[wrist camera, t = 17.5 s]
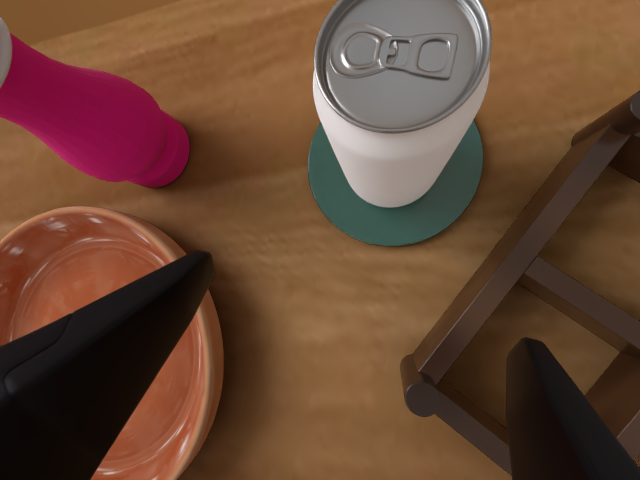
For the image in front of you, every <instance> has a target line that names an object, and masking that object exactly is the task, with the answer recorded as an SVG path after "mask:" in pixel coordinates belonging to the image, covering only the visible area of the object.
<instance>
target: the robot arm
mask: <svg viewBox="0 0 640 480" xmlns="http://www.w3.org/2000/svg"><path fill="white" fill-rule="evenodd" d="M214 275H215V268H214V264H213V260H212V256H211V254H210V253H209V252H206V251H203V250H195V251H193V252H191V253H189V254H187V255H185V256H183V257H181V258H179V259H177V260H175V261H173V262H171V263H169V264H167V265H165V266H163V267H161V268H159V269H157V270H155V271H153V272H151V273H149V274H147V275H145V276H143V277H141V278H139V279H137V280H135V281H133V282H131V283H129V284H127V285H125V286H123V287H121V288H119V289H117V290H115V291H113V292H111V293H109V294H107V295H105V296H103V297H101V298H99V299H98V300H96V301H94V302H92V303H90V304H88V305H86V306H84V307H82V308H80V309H78V310H76V311H74V312H73V313H70V314H68V315H66V316H64V317H62V318H60V319H58V320H56V321H54V322H52V323H50V324H47V325H45V326H43V327H41V328H39V329H37V330H35V331H33V332H31V333H29V334H26V335H24V336H22V337H20V338H18V339H15V340H13V341H11V342H9V343H6V344H4V345H2V346H0V480H91V478H92V477H93V475H94V473H95V472H96V470H97V469H98V467H99V466H100V464H101V462H102V461H103V459H104V457H105V456H106V454H107V453H108V451H109V450H110V448H111V446H112V445H113V443H114V442H115V440H116V439H117V437H118V435H119V434H120V432H121V431H122V429H123V428H124V426H125V425H126V423H127V421H128V420H129V418H130V417H131V415H132V414H133V412H134V410H135V409H136V407H137V406H138V404H139V403H140V401H141V400H142V398H143V396H144V395H145V393H146V392H147V390H148V389H149V387H150V385H151V384H152V382H153V381H154V379H155V378H156V376H157V374H158V373H159V371H160V370H161V368H162V367H163V365H164V364H165V362H166V360H167V359H168V357H169V356H170V354H171V353H172V351H173V349H174V348H175V346H176V345H177V343H178V342H179V340H180V339H181V337H182V335H183V334H184V332H185V331H186V329H187V328H188V326H189V324H190V323H191V321H192V319H193V318H194V316H195V314H196V312H197V310H198V308H199V306H200V304H201V302H202V300H203V298H204V296H205V294H206V292H207V290H208V288H209V286H210V284H211V282H212V280H213V278H214ZM506 423H507V434H508V443H509V453H510V462H511V472H512V480H640V468H639V467H638V465H637V464H636V463H635V461H634V460H633V459H632V458H631V456H630V455H629V454H628V452H627V451H626V450H625V448H624V447H623V446H622V444H621V443H620V442H619V441H618V439H617V438H616V437H615V435H614V434H613V433H612V431H611V430H610V429H609V428H608V426H607V425H606V424H605V422H604V421H603V420H602V418H601V417H600V416H599V414H598V413H597V412H596V411H595V409H594V408H593V407H592V405H591V404H590V403H589V401H588V400H587V399H586V398H585V396H584V395H583V394H582V392H581V391H580V390H579V388H578V387H577V386H576V384H575V383H574V382H573V381H572V379H571V378H570V377H569V375H568V374H567V373H566V371H565V370H564V369H563V368H562V366H561V365H560V364H559V362H558V361H557V360H556V358H555V357H554V356H553V355H552V353H551V352H550V351H549V349H548V348H547V347H546V345H545V344H544V343H542V342H541V341H538V340H535V339H531V338H527V337H525V338H522V339H521V340H520V341H519V342H518V343H517V344H516V345H515V346H514V348H513V349H512V350H511V351H510V352H509V354H508V356H507V371H506Z"/></svg>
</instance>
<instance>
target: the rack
mask: <svg viewBox="0 0 640 480" xmlns="http://www.w3.org/2000/svg"><path fill="white" fill-rule="evenodd" d="M571 145H572V147H571V149H570V150H569V151H568V152H567V154H566V155H565V156H564V158H563V159H562V160H561V162H560V163H559V164H558V165H557V167H556V168H555V169H554V171H553V172H552V173H551V175H550V176H549V177H548V178H547V180H546V181H545V182H544V184H543V185H542V186H541V188H540V189H539V190H538V192H537V193H536V194H535V195H534V197H533V198H532V199H531V201H530V202H529V203H528V205H527V206H526V207H525V208H524V210H523V211H522V212H521V214H520V215H519V216H518V218H517V219H516V220H515V221H514V223H513V224H512V225H511V227H510V228H509V229H508V231H507V232H506V233H505V234H504V236H503V237H502V238H501V240H500V241H499V242H498V244H497V245H496V246H495V248H494V249H493V250H492V251H491V253H490V254H489V255H488V257H487V258H486V259H485V261H484V262H483V263H482V264H481V266H480V267H479V268H478V270H477V271H476V272H475V274H474V275H473V276H472V277H471V279H470V280H469V281H468V283H467V284H466V285H465V287H464V288H463V289H462V291H461V292H460V293H459V294H458V296H457V297H456V298H455V300H454V301H453V302H452V304H451V305H450V306H449V307H448V309H447V310H446V311H445V313H444V314H443V315H442V317H441V318H440V319H439V320H438V322H437V323H436V324H435V326H434V327H433V328H432V330H431V331H430V332H429V333H428V335H427V336H426V337H425V339H424V340H423V341H422V343H421V344H420V345H419V347H418V348H417V349H416V350H415V352H414V353H413V354H412V355H408V356H406V357H405V358H404V359H403V360H402V361H401V364H400V370H401V377H402V384H403V391H404V397H405V403H406V405H407V407H408V408H409V410H410V411H411V412H412V413H414V414H416V415H418V416H421V417H428V416H431V415H433V414H436V415H437V416H438V417H439V418H441V419H442V420H443V421H444V422H446V423H447V424H448V425H449V426H451V427H452V428H453V429H454V430H456V431H457V432H458V433H459V434H460V435H462V436H463V437H464V438H465V439H467V440H468V441H469V442H470V443H472V444H473V445H474V446H475V447H476V448H478V449H479V450H480V451H481V452H483V453H484V454H485V455H486V456H488V457H489V458H490V459H491V460H493V461H494V462H495V463H496V464H497V465H499V466H500V467H501V468H502V469H504V470H505V471H506V472H507V473H509V474H510V475H511V476H512V472H511V462H510V453H509V443H508V434H507V429H506V428H504V427H503V426H502V425H500V424H499V423H498V422H497V421H495V420H494V419H493V418H491V417H490V416H489V415H488V414H486V413H485V412H484V411H482V410H481V409H480V408H479V407H477V406H476V405H475V404H474V403H472V402H471V401H470V400H468V399H467V398H466V397H465V396H463V395H462V394H461V393H459V392H458V391H457V390H456V389H454V388H453V387H452V386H450V385H449V384H448V383H447V382H445V381H444V380H443V379H441V378H442V377H443V375H444V374H445V373H446V372H447V370H448V369H449V368H450V367H451V365H452V364H453V363H454V361H455V360H456V359H457V358H458V356H459V355H460V354H461V352H462V351H463V350H464V349H465V347H466V346H467V345H468V343H469V342H470V341H471V340H472V338H473V337H474V336H475V334H476V333H477V332H478V331H479V329H480V328H481V327H482V325H483V324H484V323H485V322H486V320H487V319H488V318H489V317H490V315H491V314H492V313H493V311H494V310H495V309H496V308H497V306H498V305H499V304H500V302H501V301H502V300H503V299H504V297H505V296H506V295H507V293H508V292H509V291H510V290H511V288H512V287H513V286H514V284H515V283H516V282H517V283H519V284H520V285H522V286H523V287H525V288H526V289H528V290H529V291H531V292H532V293H534V294H535V295H537V296H538V297H540V298H541V299H543V300H544V301H546V302H547V303H549V304H550V305H552V306H553V307H555V308H556V309H558V310H559V311H561V312H562V313H564V314H565V315H567V316H568V317H570V318H571V319H573V320H574V321H576V322H577V323H579V324H580V325H582V326H583V327H585V328H586V329H588V330H589V331H591V332H592V333H594V334H595V335H597V336H598V337H600V338H601V339H603V340H604V341H606V342H607V343H609V344H610V345H612V346H613V347H615V348H616V349H618V350H619V351H621V352H620V353H619V355H618V356H617V357H616V358H615V360H614V361H613V362H612V363H611V364H610V366H609V367H608V368H607V369H606V370H605V372H604V373H603V374H602V375H601V377H600V378H599V379H598V380H597V381H596V383H595V384H594V385H593V386H592V388H591V389H590V390H589V391H588V392H587V394H586V395H585V398H586V399H587V400H588V401H589V403H590V404H591V405H592V407H593V408H594V409H595V411H596V412H597V413H598V414H599V416H600V417H601V418H602V420H603V421H604V422H605V424H606V425H607V426H608V428H609V429H610V430H611V431H612V433H613V434H614V435H615V437H616V438H617V439H618V441H619V442H620V443H621V444H622V446H623V447H624V448H625V450H626V451H627V452H628V454H629V455H630V456H631V458H632V459H633V460H634V461H635V460H636V459H637V458H638V457H639V455H640V321H639V320H637V319H636V318H634V317H632V316H631V315H629V314H628V313H626V312H625V311H623V310H621V309H620V308H618V307H617V306H615V305H614V304H612V303H611V302H609V301H607V300H606V299H604V298H603V297H601V296H600V295H598V294H596V293H595V292H593V291H592V290H590V289H589V288H587V287H585V286H584V285H582V284H581V283H579V282H578V281H576V280H575V279H573V278H571V277H570V276H568V275H567V274H565V273H564V272H562V271H560V270H559V269H557V268H556V267H554V266H553V265H551V264H549V263H548V262H546V261H545V260H543V259H542V258H540V257H539V256H537V255H538V254H539V252H540V251H541V250H542V249H543V247H544V246H545V245H546V243H547V242H548V241H549V240H550V238H551V237H552V236H553V234H554V233H555V232H556V231H557V229H558V228H559V227H560V225H561V224H562V223H563V222H564V220H565V219H566V218H567V217H568V215H569V214H570V213H571V211H572V210H573V209H574V208H575V206H576V205H577V204H578V202H579V201H580V200H581V199H582V197H583V196H584V195H585V193H586V192H587V191H588V190H589V188H590V187H591V186H592V184H593V183H594V182H595V181H596V179H597V178H598V177H599V175H600V174H601V173H602V172H603V170H604V169H605V168H606V167H607V165H609V166H611V167H612V168H614V169H616V170H618V171H620V172H622V173H623V174H625V175H627V176H629V177H631V178H633V179H634V180H636V181H638V182H640V91H638V92H637V93H635V94H634V95H632V96H631V97H629V98H628V99H626V100H625V101H623V102H622V103H620V104H619V105H617V106H616V107H614V108H613V109H611V110H610V111H608V112H607V113H605V114H604V115H602V116H601V117H600V118H598V119H597V120H595V121H594V122H592V123H591V124H589V125H588V126H586V127H585V128H583V129H582V130H580V131H579V132H577V133H576V134H575V135H574V136H573V138H572V142H571Z"/></svg>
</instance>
